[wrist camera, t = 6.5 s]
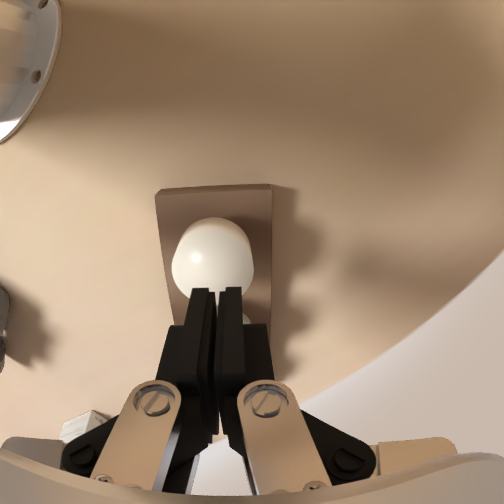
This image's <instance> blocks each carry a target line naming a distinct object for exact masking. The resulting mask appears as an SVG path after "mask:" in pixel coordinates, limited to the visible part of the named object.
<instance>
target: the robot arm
mask: <svg viewBox="0 0 504 504" xmlns="http://www.w3.org/2000/svg"><path fill="white" fill-rule="evenodd" d="M46 1H47V0H0V143H1V142H3V141H5V140H6V139H7V138H9V137H10V136H11V135H12V134H13V133H14V132H15V131H16V130H17V129H18V128H19V127H20V126H21V125H22V124H23V122H24V121H25V120H26V119H27V117H28V116H29V114H30V113H31V112H32V110H33V108H34V107H35V105H36V104H37V102H38V100H39V98H40V96H41V95H42V93H43V91H44V89H45V87H46V85H47V82H48V80H49V77H50V75H51V72H52V70H53V67H54V64H55V61H56V57H57V54H58V50H59V45H60V40H61V33H62V14H61V8H60V4H59V2H58V0H49V1H48V3H47V5H46V6H45V7H44V8H42V6H43V4H44V3H45V2H46ZM40 71H41V77H40V79H39V81H38V82H37V83H36V81H35V78H36V75H37V73H38V72H40ZM219 411H220V417H221V423H222V428H223V434H224V435H228V440H229V445H230V447H231V448H232V449H234V450H235V451H236V452H238V453H239V454H240V455H241V456H242V458H243V462H244V467H245V471H246V476H247V480H248V484H249V488H250V492H251V496H204V495H203V496H202V495H190V494H191V490H192V486H193V482H194V478H195V474H196V469H197V466H198V462H199V453H200V452H201V451H202V450H204V449H205V448H207V447H208V443H212V435H218V434H219ZM0 504H504V458H503V457H502V456H499V455H497V454H491V453H483V452H477V453H463V454H458V453H457V450H456V447H455V445H454V444H453V443H452V442H451V441H450V440H448V439H446V438H443V437H432V438H425V439H416V440H405V441H392V442H379V443H378V444H377V445H367V444H366V443H364V442H362V441H361V440H358V439H356V438H354V437H352V436H350V435H348V434H346V433H344V432H342V431H340V430H338V429H336V428H334V427H332V426H330V425H328V424H327V423H325V422H323V421H321V420H319V419H317V418H315V417H314V416H312V415H310V414H308V413H306V412H304V411H303V410H301V409H300V408H299V405H298V403H297V401H296V398H295V396H294V394H293V392H292V391H291V389H290V388H289V387H287V386H286V385H285V384H283V383H280V382H278V381H275V380H274V373H273V366H272V359H271V353H270V346H269V339H268V332H267V326H266V323H256V324H243V311H242V286H241V287H226V289H225V291H220V292H219V303H218V316H217V308H216V297H215V292H209V288H192V291H191V295H190V299H189V304H188V308H187V312H186V317H185V321H184V325H171V326H170V327H169V330H168V334H167V337H166V341H165V345H164V348H163V352H162V356H161V359H160V363H159V367H158V371H157V375H156V379H155V380H152V381H146V382H144V383H142V384H139V385H138V386H137V387H135V388H134V389H133V390H132V392H131V393H130V394H129V396H128V398H127V400H126V402H125V404H124V406H123V408H122V410H121V412H120V414H119V415H117V416H115V417H114V418H112V419H110V420H108V421H106V422H105V423H103V424H101V425H99V426H97V427H95V428H94V429H92V430H90V431H88V432H86V433H84V434H82V435H80V436H78V437H77V438H75V439H73V440H72V441H70V442H69V443H64V441H63V440H49V439H36V438H25V437H11V438H9V439H7V440H6V441H5V442H4V443H3V445H2V447H1V448H0Z"/></svg>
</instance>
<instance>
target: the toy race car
mask: <svg viewBox="0 0 504 504" xmlns="http://www.w3.org/2000/svg"><path fill="white" fill-rule="evenodd" d="M8 311H9V297H8V294H7V292H6V291H5V290H4V289H3V288H2V287H1V286H0V337H1V335H3V330H4V329H5V327H6V324H7V319H8ZM4 360H5V348H4V344H3V341H2V340H1V339H0V373H1V372H2V370H3V367H4Z"/></svg>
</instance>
